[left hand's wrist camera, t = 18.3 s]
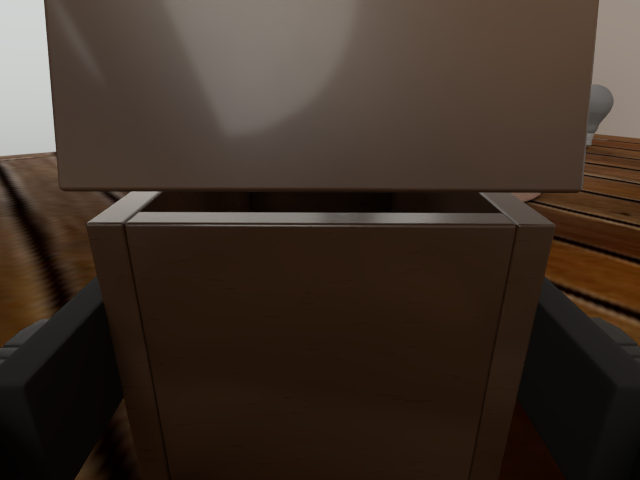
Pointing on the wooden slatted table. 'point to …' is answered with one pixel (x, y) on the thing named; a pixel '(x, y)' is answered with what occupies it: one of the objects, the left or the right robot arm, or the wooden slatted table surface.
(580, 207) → the wooden slatted table surface
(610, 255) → the wooden slatted table surface
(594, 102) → the light bulb
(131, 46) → the lid
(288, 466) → the chest
